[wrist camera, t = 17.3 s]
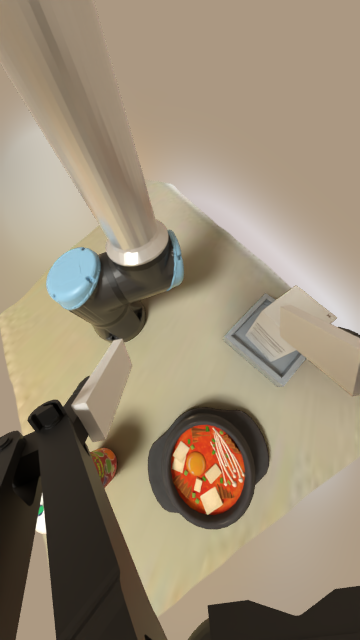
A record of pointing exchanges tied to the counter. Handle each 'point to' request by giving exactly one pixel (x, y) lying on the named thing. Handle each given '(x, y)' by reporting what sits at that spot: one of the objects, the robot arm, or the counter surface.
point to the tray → (241, 344)
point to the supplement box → (268, 323)
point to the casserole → (208, 466)
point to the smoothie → (106, 471)
